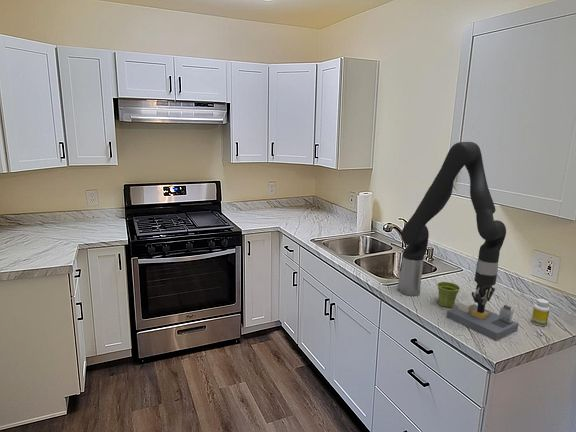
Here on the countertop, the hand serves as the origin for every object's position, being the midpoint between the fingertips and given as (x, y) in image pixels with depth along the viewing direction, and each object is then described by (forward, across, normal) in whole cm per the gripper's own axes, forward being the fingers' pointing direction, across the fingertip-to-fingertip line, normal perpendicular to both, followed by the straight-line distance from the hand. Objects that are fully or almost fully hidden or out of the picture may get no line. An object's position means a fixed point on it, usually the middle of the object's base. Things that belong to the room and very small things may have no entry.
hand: (480, 311), depth 157 cm
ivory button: (+3, 0, -6) cm, 7 cm away
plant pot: (+5, -3, -17) cm, 18 cm away
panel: (+5, 0, +1) cm, 5 cm away
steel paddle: (+1, -4, +8) cm, 9 cm away
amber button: (+4, 0, 0) cm, 4 cm away
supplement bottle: (+5, -21, +13) cm, 25 cm away
